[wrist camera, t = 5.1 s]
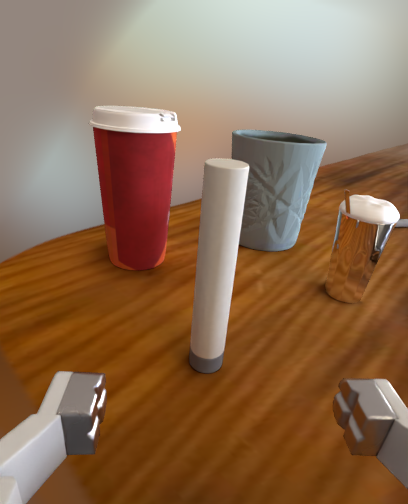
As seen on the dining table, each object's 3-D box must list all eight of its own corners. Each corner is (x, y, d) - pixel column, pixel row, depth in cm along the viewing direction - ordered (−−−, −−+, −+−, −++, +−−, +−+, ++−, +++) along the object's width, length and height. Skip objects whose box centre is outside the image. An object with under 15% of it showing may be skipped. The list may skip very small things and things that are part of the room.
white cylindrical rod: (218, 377, 21) (246, 170, 15) (185, 369, 22) (200, 164, 16) (225, 353, 23) (251, 161, 17) (193, 346, 23) (210, 156, 18)
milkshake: (300, 285, 32) (326, 181, 28) (343, 277, 34) (373, 180, 30) (334, 313, 28) (369, 198, 24) (380, 302, 30) (420, 195, 26)
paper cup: (188, 253, 36) (197, 113, 30) (144, 285, 30) (144, 116, 24) (131, 235, 39) (128, 104, 33) (80, 260, 33) (65, 105, 27)
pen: (354, 226, 48) (356, 217, 47) (447, 224, 52) (450, 216, 51) (359, 229, 47) (362, 221, 46) (454, 228, 51) (457, 219, 50)
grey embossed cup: (209, 240, 40) (219, 133, 34) (235, 215, 48) (247, 126, 43) (296, 262, 36) (322, 147, 31) (308, 231, 45) (330, 136, 40)
